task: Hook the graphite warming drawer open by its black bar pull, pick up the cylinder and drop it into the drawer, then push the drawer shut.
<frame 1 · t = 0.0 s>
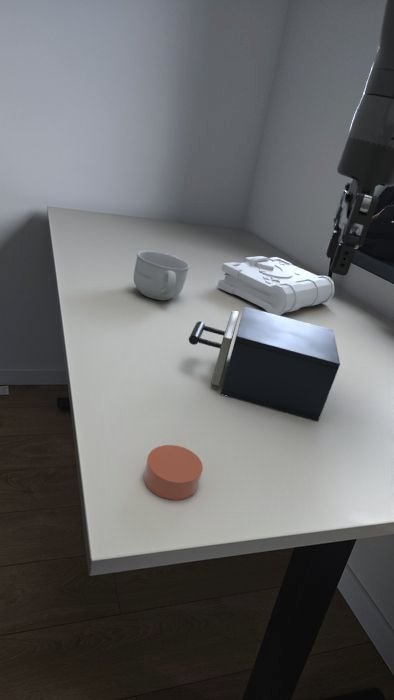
hand: (335, 265, 68), 21 cm above the table, tool pointing down, fingers open, 8 cm apart
teacup: (157, 298, 102), on the table
book: (278, 296, 120), on the table
cylinder: (171, 479, 54), on the table
cabinet: (270, 387, 77), on the table
drawer: (249, 352, 75), point 5 cm above the table, slide at 0.5 cm
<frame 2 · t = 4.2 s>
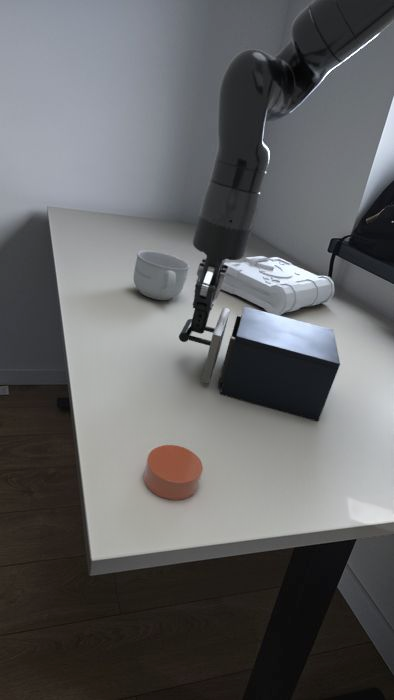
hand: (197, 330, 75), 6 cm above the table, tool pointing down, fingers closed
drawer: (239, 350, 76), point 5 cm above the table, slide at 2.0 cm, touching gripper
everything else where it was.
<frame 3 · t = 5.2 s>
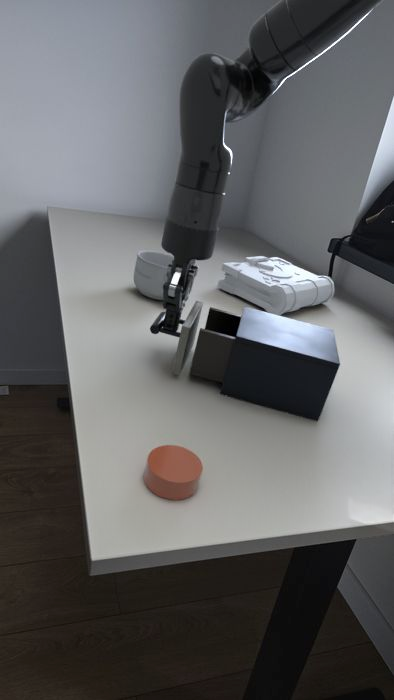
hand: (169, 330, 76), 5 cm above the table, tool pointing down, fingers closed
drawer: (211, 342, 76), point 5 cm above the table, slide at 6.5 cm, touching gripper
everything else where it was.
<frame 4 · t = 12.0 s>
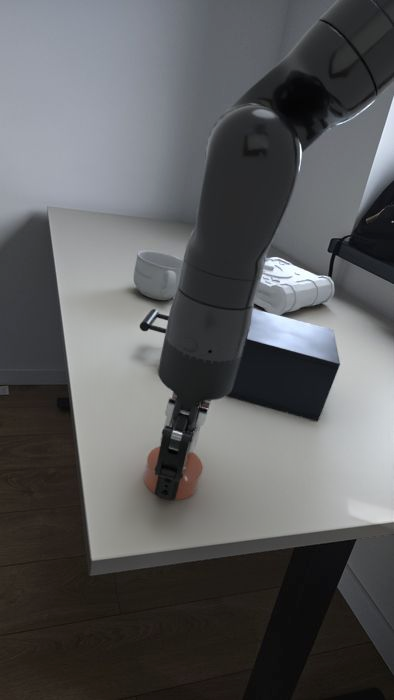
hand: (172, 475, 53), 1 cm above the table, tool pointing down, fingers closed on cylinder, 6 cm apart
cylinder: (171, 479, 54), on the table, touching gripper
drawer: (201, 339, 76), point 5 cm above the table, slide at 8.1 cm
everything else where it was.
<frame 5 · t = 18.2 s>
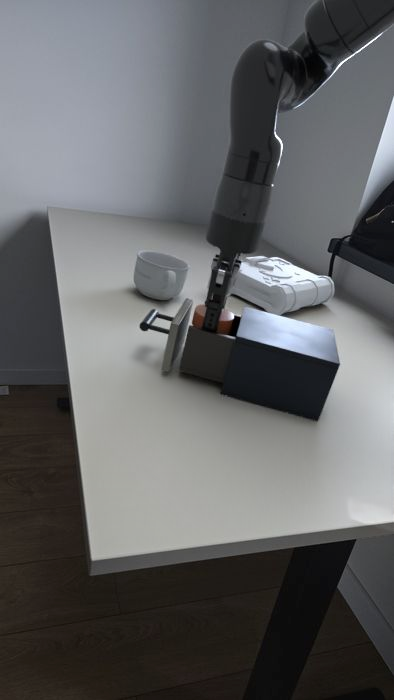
hand: (212, 323, 75), 8 cm above the table, tool pointing down, fingers closed on cylinder, 6 cm apart
cylinder: (211, 326, 75), point 7 cm above the table, touching gripper
everything else where it was.
when the fingers open (9 cm above the table, at t = 26.3 s): cylinder drops 6 cm, resting on drawer.
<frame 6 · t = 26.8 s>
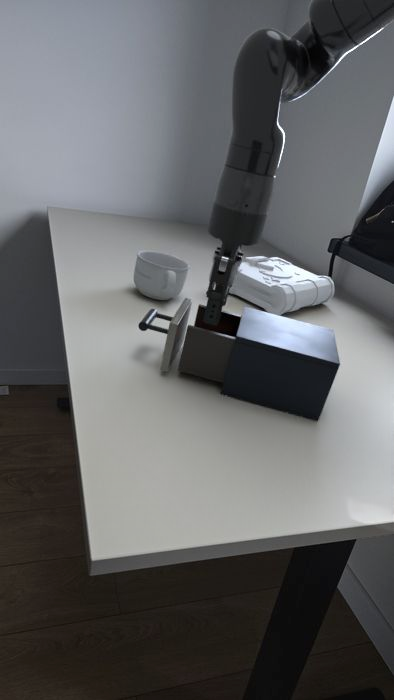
hand: (214, 313, 74), 10 cm above the table, tool pointing down, fingers open, 8 cm apart
cylinder: (204, 357, 77), point 2 cm above the table, touching drawer
drawer: (199, 339, 76), point 5 cm above the table, slide at 8.3 cm, touching cylinder
everything else where it was.
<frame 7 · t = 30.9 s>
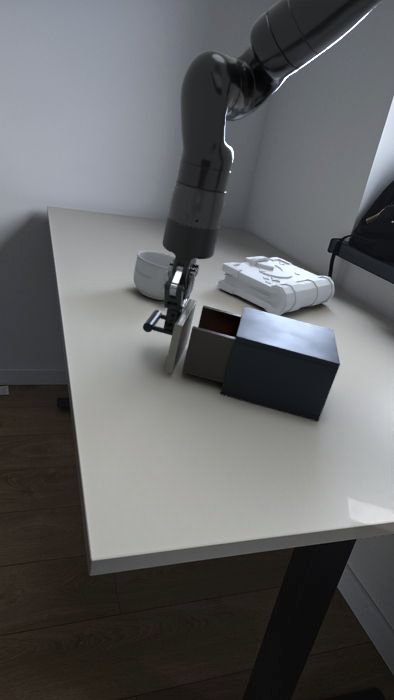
hand: (171, 329, 76), 5 cm above the table, tool pointing down, fingers closed
drawer: (204, 340, 76), point 5 cm above the table, slide at 7.6 cm, touching gripper, cylinder
everything else where it was.
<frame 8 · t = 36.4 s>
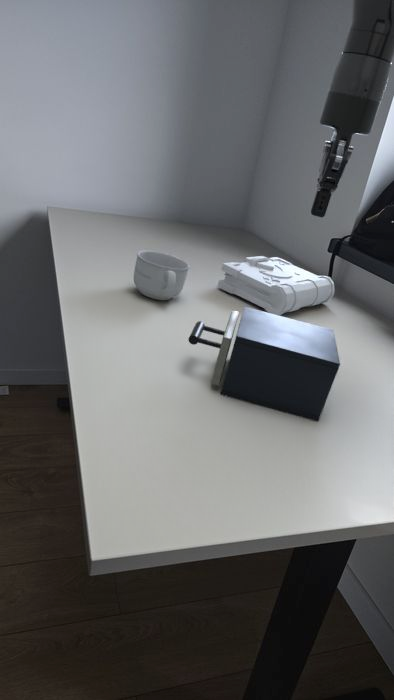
hand: (317, 215, 78), 25 cm above the table, tool pointing down, fingers closed
cylinder: (252, 370, 77), point 2 cm above the table, touching drawer
drawer: (248, 352, 75), point 5 cm above the table, slide at 0.5 cm, touching cylinder
everything else where it was.
at the end: drawer pulled out 8.3 cm at the most during the clip, back to 0.5 cm at the end; cylinder inside the target area in the cabinet (3.5 cm from its centre), point 2.0 cm above the cabinet's base; drawer slide at 0.5 cm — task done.
